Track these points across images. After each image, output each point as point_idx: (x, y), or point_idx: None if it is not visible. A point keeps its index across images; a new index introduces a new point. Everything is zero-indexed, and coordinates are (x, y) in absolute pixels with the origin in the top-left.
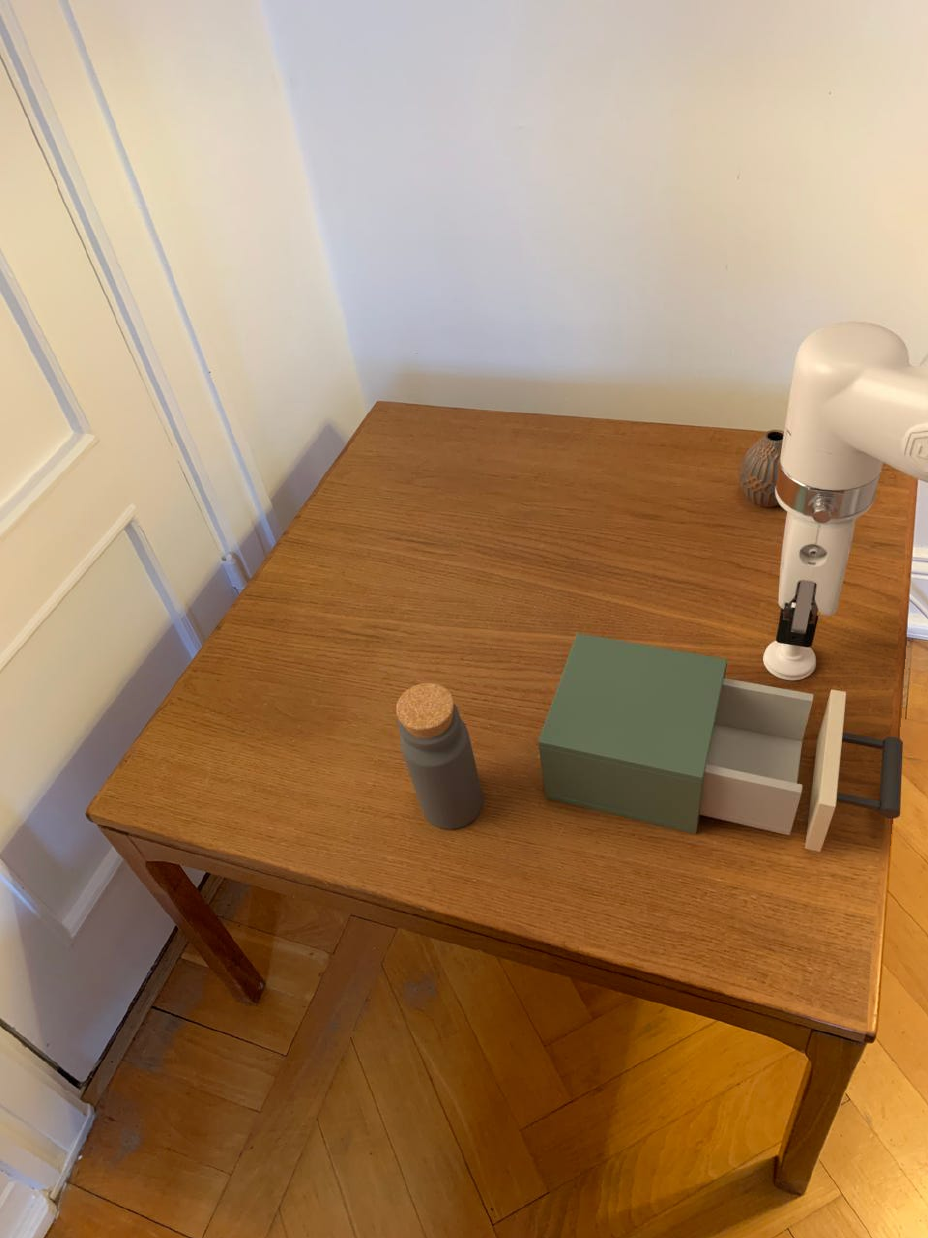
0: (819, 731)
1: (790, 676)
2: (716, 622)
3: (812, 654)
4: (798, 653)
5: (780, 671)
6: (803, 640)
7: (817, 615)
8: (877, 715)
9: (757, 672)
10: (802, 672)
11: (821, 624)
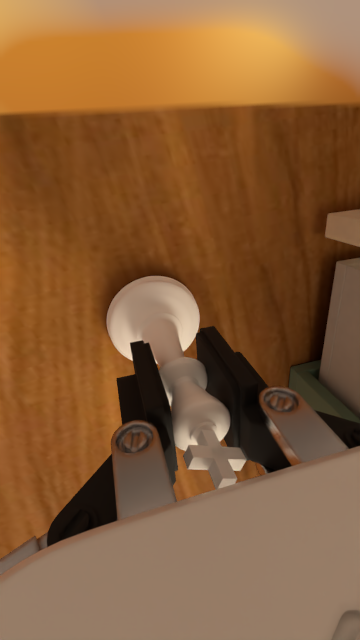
0: (342, 241)
1: (198, 310)
2: (110, 437)
3: (140, 293)
4: (171, 322)
5: (196, 329)
6: (245, 358)
7: (242, 388)
8: (233, 134)
9: (193, 353)
10: (188, 296)
11: (26, 292)
